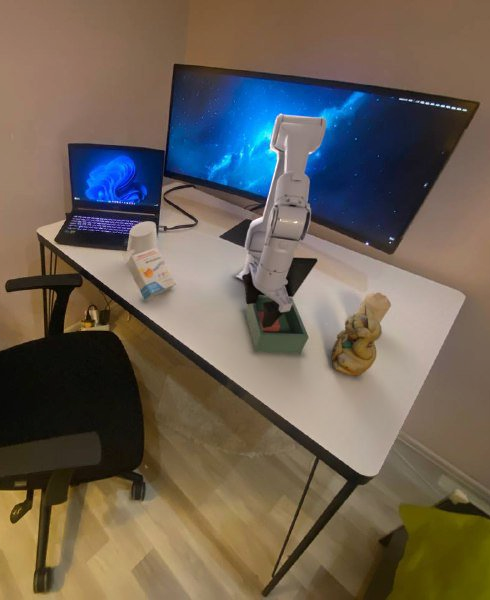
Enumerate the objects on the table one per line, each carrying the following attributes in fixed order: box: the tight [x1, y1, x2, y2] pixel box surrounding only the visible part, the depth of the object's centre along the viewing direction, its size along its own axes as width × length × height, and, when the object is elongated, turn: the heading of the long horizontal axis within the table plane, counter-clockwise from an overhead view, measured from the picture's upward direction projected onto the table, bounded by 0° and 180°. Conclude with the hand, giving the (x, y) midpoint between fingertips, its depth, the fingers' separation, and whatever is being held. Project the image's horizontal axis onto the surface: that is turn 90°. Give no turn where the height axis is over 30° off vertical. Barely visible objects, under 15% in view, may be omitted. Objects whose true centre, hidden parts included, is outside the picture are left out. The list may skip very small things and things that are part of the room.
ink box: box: [122, 246, 177, 301], centre depth 94 cm, size 8×5×15 cm
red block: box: [257, 311, 280, 333], centre depth 83 cm, size 4×4×5 cm
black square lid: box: [259, 256, 318, 298], centre depth 82 cm, size 14×11×5 cm
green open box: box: [244, 295, 309, 355], centre depth 84 cm, size 14×11×6 cm
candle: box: [354, 292, 392, 324], centre depth 84 cm, size 6×6×10 cm
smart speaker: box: [126, 220, 159, 256], centre depth 101 cm, size 10×9×14 cm
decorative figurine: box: [330, 305, 383, 377], centre depth 74 cm, size 10×8×15 cm
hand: (258, 314), depth 77 cm, fingers open, 7 cm apart
